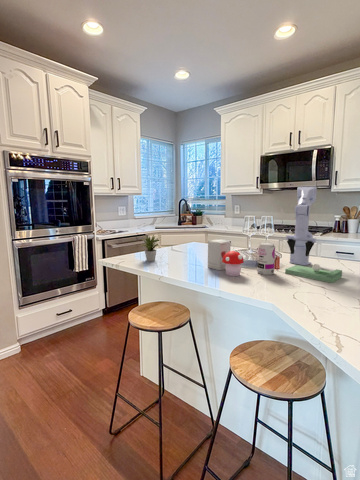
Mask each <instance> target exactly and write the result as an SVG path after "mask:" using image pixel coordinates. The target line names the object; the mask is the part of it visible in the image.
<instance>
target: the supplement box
mask: <svg viewBox="0 0 360 480" xmlns="http://www.w3.org/2000/svg"><path fill="white" fill-rule="evenodd" d="M231 242H232V241H231V240H227V239H226V240H225V239H220V238H219V239H218V238H217V239H212V240H208V241H207V268H208V269H213V270H217V271H222V270H226V268H225V267H226V263H223V262H222V260H223V256H224V255H225V254H226V253H227V252H229V251H231V244H232V243H231Z"/></svg>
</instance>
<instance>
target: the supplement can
mask: <svg viewBox="0 0 360 480" xmlns="http://www.w3.org/2000/svg"><path fill="white" fill-rule="evenodd" d="M275 255H276V246H275V243H272V242H260V243H259V244H258V246H257V263H256V267H257V268H256V272H257V273H258V274H259V275H264V276H270V275H273V274H274V273H275V261H276V259H275V258H276V256H275Z"/></svg>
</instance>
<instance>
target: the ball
mask: <svg viewBox="0 0 360 480" xmlns="http://www.w3.org/2000/svg"><path fill="white" fill-rule="evenodd" d="M311 268H312V269H313V270H314V271H319V270H320V269H321V266H320V264H318V263H314V264H312V267H311Z"/></svg>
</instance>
